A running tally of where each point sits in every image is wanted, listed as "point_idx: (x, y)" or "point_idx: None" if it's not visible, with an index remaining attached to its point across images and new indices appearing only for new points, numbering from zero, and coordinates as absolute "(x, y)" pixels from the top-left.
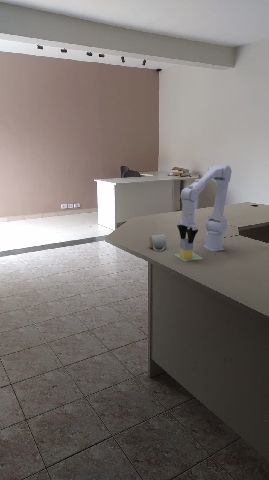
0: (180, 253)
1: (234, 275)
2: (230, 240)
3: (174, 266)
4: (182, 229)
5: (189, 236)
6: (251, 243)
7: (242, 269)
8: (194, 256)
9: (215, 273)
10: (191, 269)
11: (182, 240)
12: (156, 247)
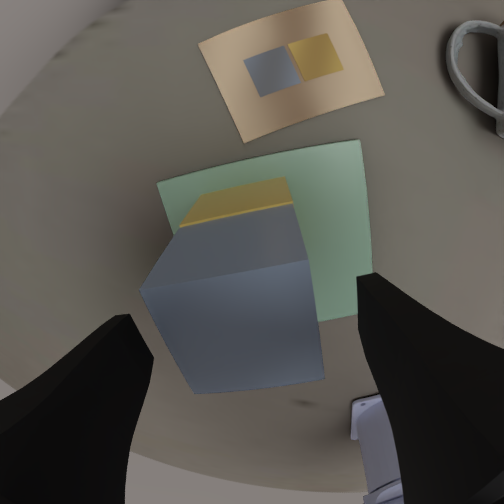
0: (270, 187)
1: (26, 355)
2: None
3: (67, 96)
4: (428, 436)
5: (36, 387)
6: None
7: None
8: None
9: (17, 303)
10: (29, 204)
11: (231, 269)
12: (498, 57)
